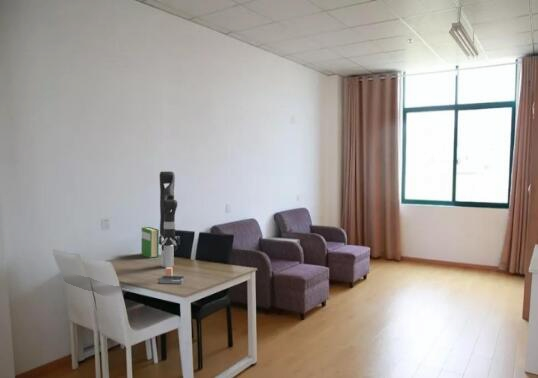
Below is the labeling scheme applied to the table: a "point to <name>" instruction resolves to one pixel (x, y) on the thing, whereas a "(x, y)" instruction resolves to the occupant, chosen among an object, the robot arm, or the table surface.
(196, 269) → the table surface
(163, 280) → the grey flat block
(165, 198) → the robot arm
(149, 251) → the hardback book
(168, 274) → the salmon pink block
